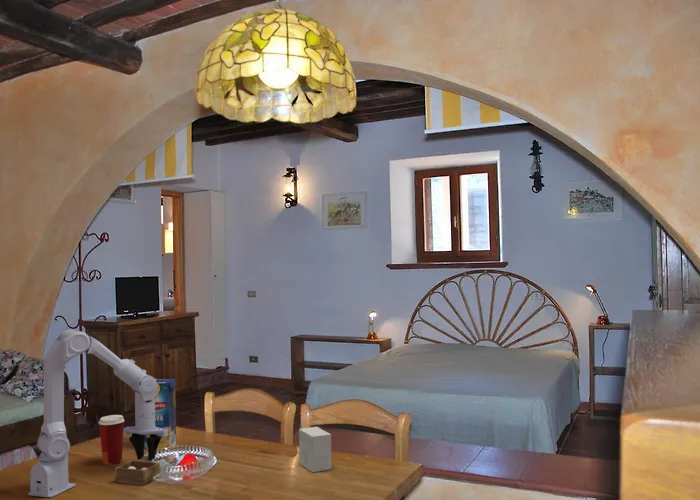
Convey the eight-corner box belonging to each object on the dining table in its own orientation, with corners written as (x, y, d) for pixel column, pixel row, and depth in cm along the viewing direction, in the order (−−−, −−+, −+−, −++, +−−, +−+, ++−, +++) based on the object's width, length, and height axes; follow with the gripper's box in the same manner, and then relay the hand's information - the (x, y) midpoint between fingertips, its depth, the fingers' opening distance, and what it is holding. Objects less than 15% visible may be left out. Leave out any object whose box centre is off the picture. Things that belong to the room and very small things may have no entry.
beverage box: (145, 443, 216) (144, 379, 216) (176, 443, 215) (175, 379, 215) (137, 449, 209) (136, 383, 209) (170, 449, 208) (168, 382, 209)
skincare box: (332, 469, 184) (331, 433, 184) (312, 473, 181) (311, 436, 181) (318, 459, 193) (317, 425, 193) (298, 463, 190) (298, 428, 190)
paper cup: (129, 458, 199) (128, 414, 200) (118, 466, 192) (117, 420, 192) (106, 458, 200) (105, 414, 200) (94, 466, 193) (93, 420, 193)
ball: (132, 479, 178) (132, 468, 178) (123, 478, 179) (123, 468, 179) (139, 475, 181) (138, 465, 181) (130, 474, 182) (130, 464, 182)
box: (145, 485, 175) (144, 470, 175) (115, 482, 178) (114, 468, 178) (160, 476, 181) (159, 462, 181) (131, 474, 184) (130, 460, 184)
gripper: (173, 412, 192) (174, 456, 191) (133, 409, 196) (134, 453, 196) (159, 417, 185) (160, 463, 185) (118, 415, 189) (119, 460, 189)
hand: (146, 459), depth 190 cm, fingers open, 3 cm apart
